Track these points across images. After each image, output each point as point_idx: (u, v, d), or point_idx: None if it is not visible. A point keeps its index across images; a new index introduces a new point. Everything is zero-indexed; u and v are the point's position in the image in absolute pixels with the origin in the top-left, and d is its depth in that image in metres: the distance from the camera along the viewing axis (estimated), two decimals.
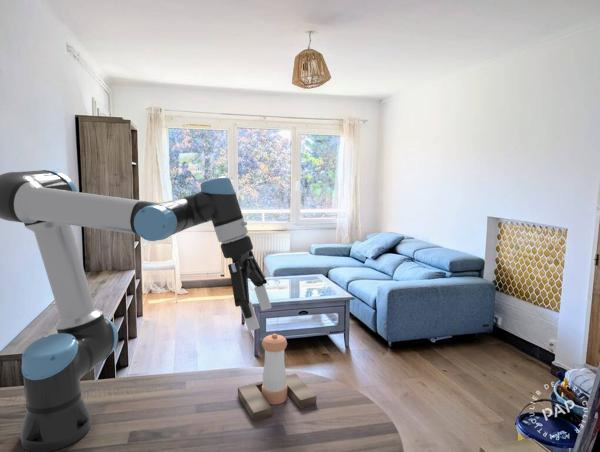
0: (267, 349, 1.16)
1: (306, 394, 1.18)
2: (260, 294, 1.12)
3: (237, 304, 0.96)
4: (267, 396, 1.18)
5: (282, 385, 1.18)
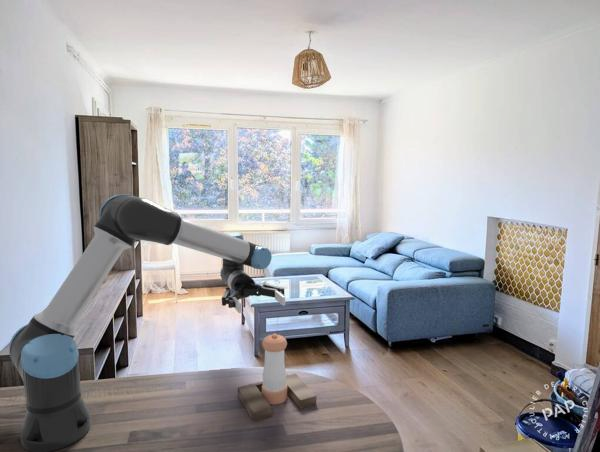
0: (267, 349, 1.16)
1: (306, 394, 1.18)
2: None
3: None
4: (267, 396, 1.18)
5: (282, 385, 1.18)
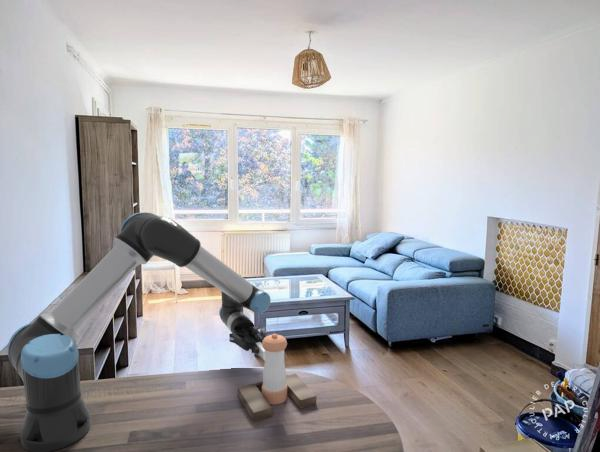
0: (267, 349, 1.16)
1: (306, 394, 1.18)
2: None
3: None
4: (267, 396, 1.18)
5: (282, 385, 1.18)
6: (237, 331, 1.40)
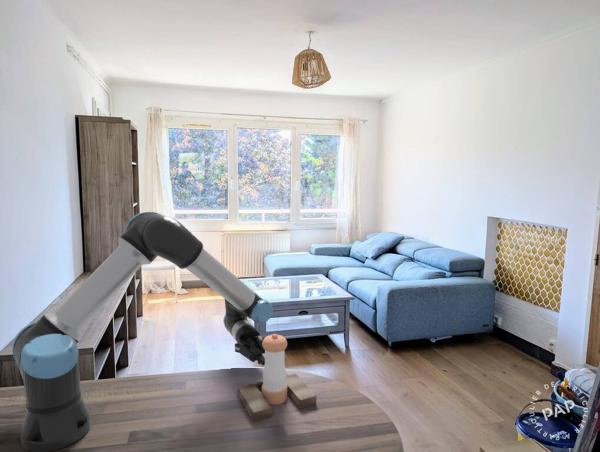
0: (267, 349, 1.15)
1: (306, 394, 1.18)
2: None
3: None
4: (267, 396, 1.18)
5: (282, 385, 1.18)
6: (243, 341, 1.37)
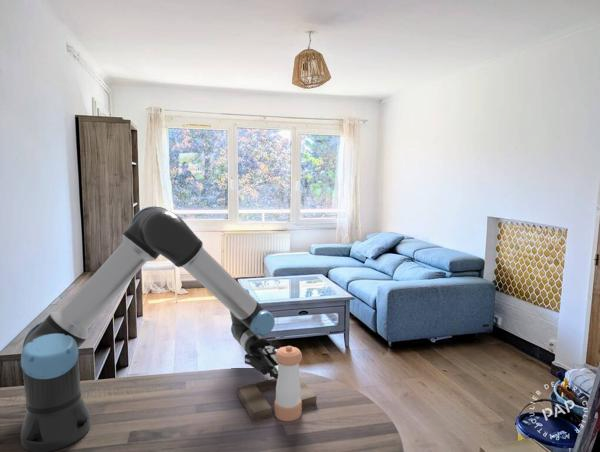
0: (281, 363, 1.08)
1: (306, 394, 1.18)
2: None
3: None
4: (280, 412, 1.10)
5: (296, 401, 1.11)
6: (253, 351, 1.30)
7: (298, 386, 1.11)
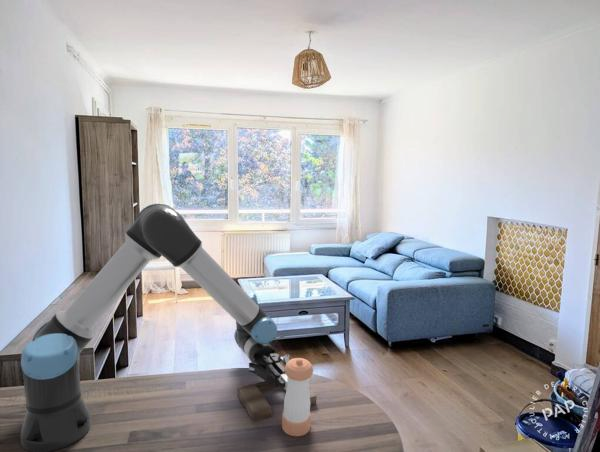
0: (291, 377, 1.01)
1: None
2: None
3: None
4: (289, 427, 1.04)
5: (306, 415, 1.05)
6: (257, 359, 1.23)
7: (308, 400, 1.05)
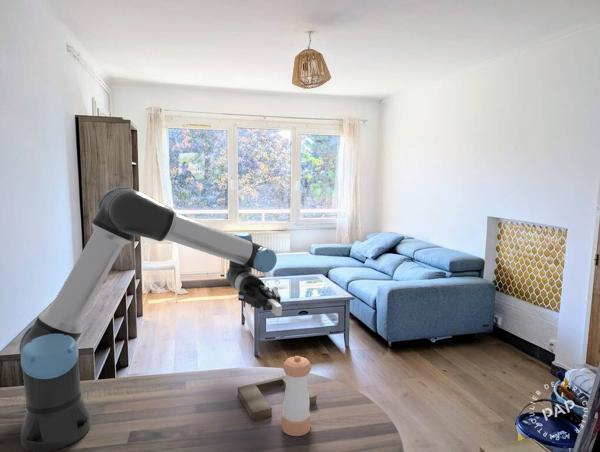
0: (290, 374, 1.02)
1: None
2: None
3: (279, 298, 1.22)
4: (289, 427, 1.04)
5: (306, 414, 1.05)
6: (247, 290, 1.28)
7: (307, 398, 1.05)
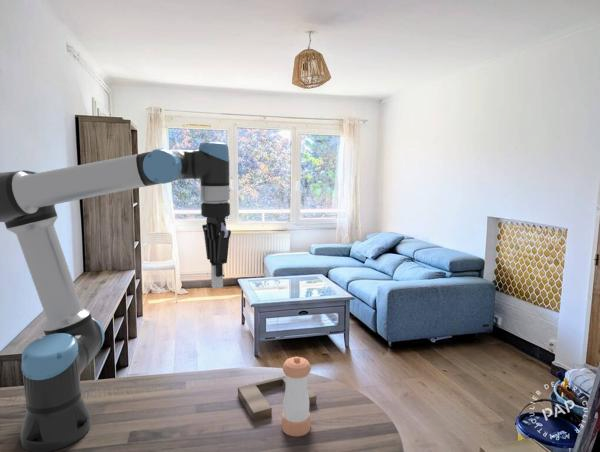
0: (290, 375, 1.02)
1: None
2: None
3: (219, 263, 1.12)
4: (289, 427, 1.04)
5: (306, 414, 1.05)
6: (207, 222, 1.15)
7: (307, 398, 1.05)
